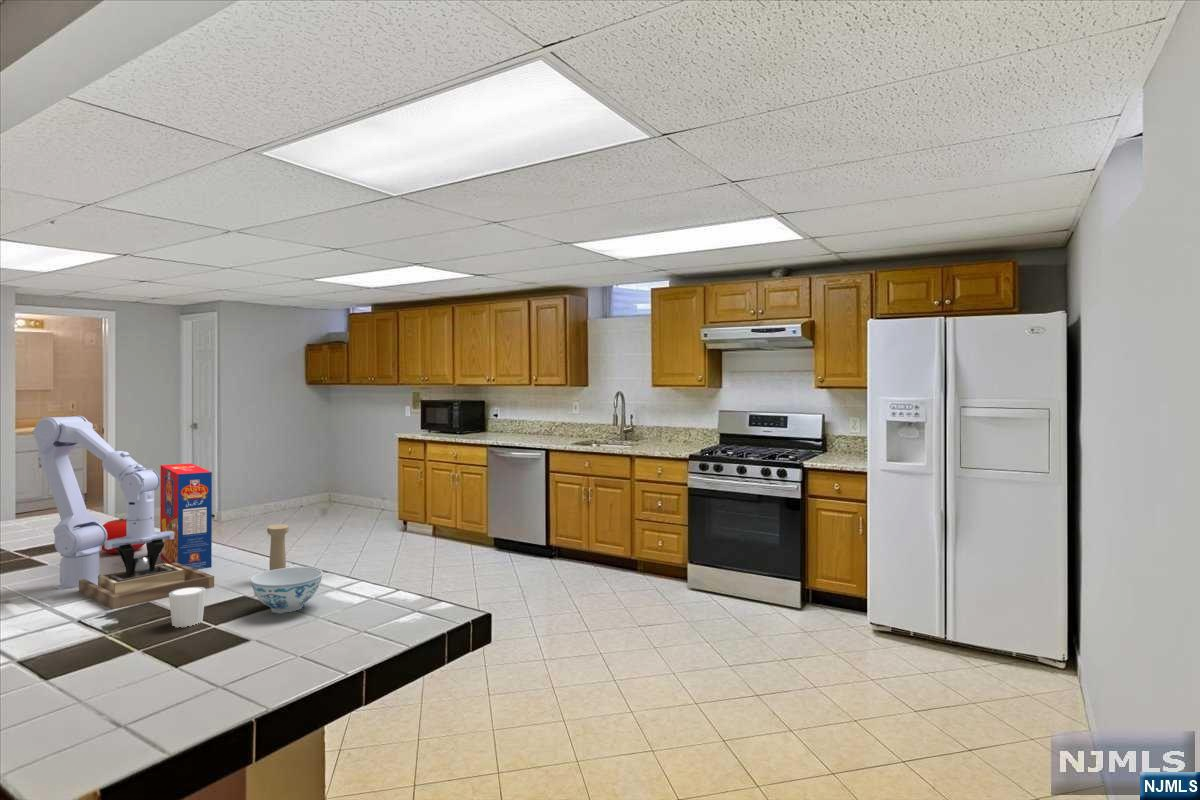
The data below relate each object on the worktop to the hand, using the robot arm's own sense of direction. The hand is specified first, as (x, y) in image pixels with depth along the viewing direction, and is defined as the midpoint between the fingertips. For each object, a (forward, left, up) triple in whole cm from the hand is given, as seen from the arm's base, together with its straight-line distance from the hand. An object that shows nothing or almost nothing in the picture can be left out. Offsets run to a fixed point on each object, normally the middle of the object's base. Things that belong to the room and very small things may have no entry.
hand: (140, 572), depth 165 cm
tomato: (-50, +13, -5) cm, 52 cm away
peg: (0, 0, -2) cm, 2 cm away
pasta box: (-19, +18, -5) cm, 27 cm away
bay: (+4, 0, -5) cm, 6 cm away
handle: (+21, +24, -5) cm, 32 cm away
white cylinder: (+34, -3, -5) cm, 34 cm away
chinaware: (+42, +15, -5) cm, 45 cm away
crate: (+1, 0, -3) cm, 4 cm away
